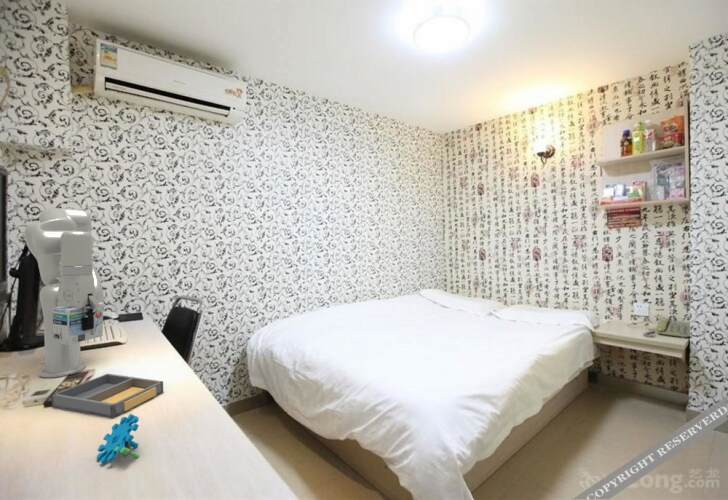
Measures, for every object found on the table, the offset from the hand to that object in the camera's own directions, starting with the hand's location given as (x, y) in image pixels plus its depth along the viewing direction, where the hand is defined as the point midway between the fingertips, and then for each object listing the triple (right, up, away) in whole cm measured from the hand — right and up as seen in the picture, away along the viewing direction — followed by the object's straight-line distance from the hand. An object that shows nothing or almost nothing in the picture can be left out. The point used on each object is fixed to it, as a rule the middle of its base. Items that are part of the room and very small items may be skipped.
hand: (78, 328), depth 107 cm
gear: (+35, -21, -31) cm, 51 cm away
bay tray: (+14, -20, -5) cm, 25 cm away
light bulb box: (0, -4, 0) cm, 4 cm away
